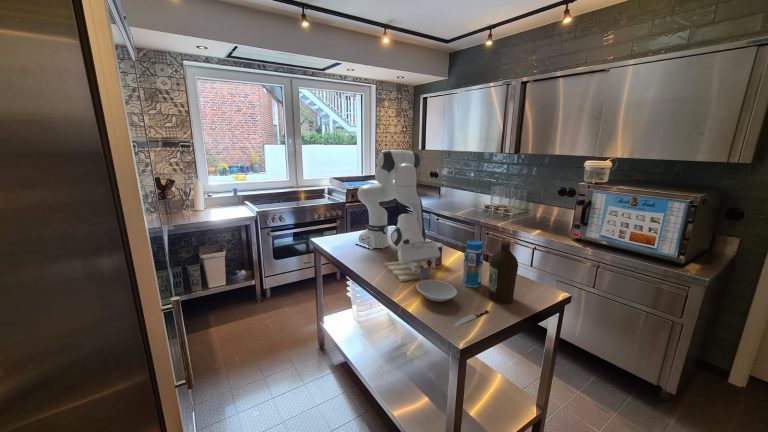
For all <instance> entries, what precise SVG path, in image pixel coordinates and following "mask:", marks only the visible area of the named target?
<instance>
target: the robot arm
mask: <svg viewBox="0 0 768 432" xmlns="http://www.w3.org/2000/svg"><path fill="white" fill-rule="evenodd" d="M377 163H378V164H377V167H376V170H375V173H374V178H375V180H376V182H377V183H369V184H368V183H367V184H364V185H361V186H359V188H358V190H357V197H358V198H357V199H358V201H360V202H361V203H363V204H364V205H365V206H366V208H367V211H368V221H369V223H367V224H366V229H365V230H364V231H362V232H361V233H360V234H359V236H358V240H359V242H360V243H363V244H366V245H368V248H382V247H387V246H389V244H390V241H389V235H388V234H389V233H388V231H389V223H388V212H387V210H386V209H385V208H384V207H382V206H380V202H388V201H389V202H390V201H391V200H394V199H396V200H397V201H398V202H399V203H400V204H403V205H404V206H407V207H408V208H410V210H411V212H412V213H411V212H404V213H401V214H400V215H398V216H397V224H396V227H395V228H394V229H393V231H391V233H390V239H391V242H392V244H393V245H394V246H395V247H396V250H397V251H398V252H397V259H398V261H399V262H400V263H401V264H402V265H403V264H408V266H409V267H410V268H411V269H412V270H413V272H416V271H417V268H416V267H414V266H413V265H412V264H413V263H420V262H421V263H422V262H427V261H428V260H431V262H432V264H431V266H430V268H431V269H430V270H433V269H436V268H437V267H436V266H435V259H438V258H439V257H440V255H441V254H440V251H439V249H438V248H437V246H436V243H435V241H433V240H427V233H426V229H425V222H424V221H425V220H424V219H425V218H424V210H423V209H424V207H423V202H422V199H421V197H420V196H419V195H418V192H417V170H418V169H419V166H420V164H421V158H420V155H419V153H418V152H416V151H413V150H407V149H406V150H405V149H383V150H381V151H380V152H379V155H378V159H377ZM426 240H427V241H426ZM389 247H390V246H389ZM387 248H388V247H387ZM382 249H383V248H382Z"/></svg>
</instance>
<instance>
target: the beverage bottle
mask: <svg viewBox="0 0 768 432" xmlns="http://www.w3.org/2000/svg"><path fill="white" fill-rule="evenodd" d="M465 245H466V250H465V252H464V253H463V254H464V255H463V257H464V258H463V271H462V273H463V274H462V284H463V285H464V286H465V287H469V288H478V287H481V285H482V277H483V276H482V275H483V266H484V260H483V259H484V255H483V252H482V250H483V242H482V241H481V240H479V239H469V240H467V241H466V244H465Z"/></svg>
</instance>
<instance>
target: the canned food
mask: <svg viewBox="0 0 768 432" xmlns="http://www.w3.org/2000/svg"><path fill="white" fill-rule="evenodd" d="M434 242H435V241H434ZM435 243H436V246H437V248H438V249H439V251H440V254H441V255H440V257H439V258H438V259H435V266H436V268H437V267H440V266H441V265H442V261H443V243H441V242H437V241H436V242H435ZM426 264H427V266H428V267H431V264H432V262H431V260H428V261H426Z"/></svg>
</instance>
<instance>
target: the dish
mask: <svg viewBox="0 0 768 432" xmlns="http://www.w3.org/2000/svg"><path fill="white" fill-rule="evenodd" d="M415 288H416V289H417V291H418V292H419V293H421V295H422V296H424V297H425V298H426V299H428V300H430V301H433V302H439V303H440V302H446V301H449V300H450V299H452V298H455V297H456V296H457V294H458V291H457V289H456V288H455V286H453V285H452V284H450V283H448V282H445V281H443V280H439V279H438V280H437V279H429V280H422V281H420V280H419V281H418V282H417V283H416V287H415Z"/></svg>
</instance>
